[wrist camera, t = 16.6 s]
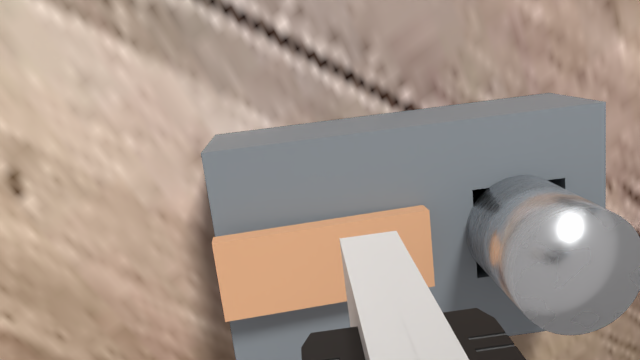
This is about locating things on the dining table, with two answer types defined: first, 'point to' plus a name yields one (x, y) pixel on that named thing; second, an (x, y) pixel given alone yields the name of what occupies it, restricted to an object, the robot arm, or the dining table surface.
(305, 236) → the bar
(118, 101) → the dining table surface
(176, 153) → the dining table surface
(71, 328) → the dining table surface
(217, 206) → the slate block
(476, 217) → the steel pin
